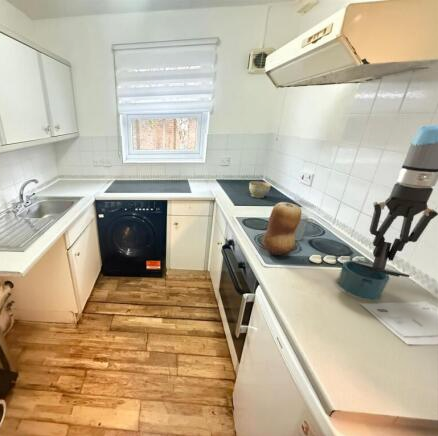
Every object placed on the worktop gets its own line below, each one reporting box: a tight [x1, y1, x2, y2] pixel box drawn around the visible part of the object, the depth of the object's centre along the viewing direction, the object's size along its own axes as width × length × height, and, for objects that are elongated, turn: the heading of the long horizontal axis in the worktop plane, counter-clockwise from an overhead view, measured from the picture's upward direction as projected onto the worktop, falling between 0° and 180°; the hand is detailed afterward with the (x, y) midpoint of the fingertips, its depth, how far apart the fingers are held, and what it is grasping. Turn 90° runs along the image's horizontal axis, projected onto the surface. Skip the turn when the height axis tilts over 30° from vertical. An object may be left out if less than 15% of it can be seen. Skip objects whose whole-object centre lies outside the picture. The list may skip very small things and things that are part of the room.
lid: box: [350, 241, 410, 278], centre depth 76 cm, size 14×14×10 cm
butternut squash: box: [262, 201, 303, 256], centre depth 109 cm, size 14×13×25 cm
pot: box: [337, 259, 390, 300], centre depth 88 cm, size 13×18×8 cm
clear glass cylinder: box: [294, 212, 310, 241], centre depth 128 cm, size 10×10×12 cm
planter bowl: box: [248, 181, 272, 199], centre depth 194 cm, size 16×16×11 cm
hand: (382, 256), depth 75 cm, fingers closed on lid, 3 cm apart
